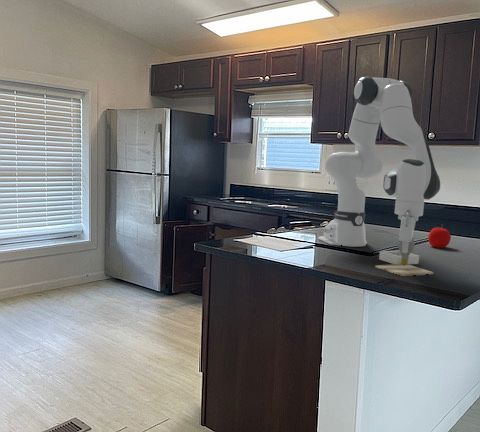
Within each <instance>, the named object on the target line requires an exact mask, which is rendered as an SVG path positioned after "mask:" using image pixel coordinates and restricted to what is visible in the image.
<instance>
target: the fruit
mask: <svg viewBox="0 0 480 432" xmlns="http://www.w3.org/2000/svg"><path fill="white" fill-rule="evenodd" d="M443 227H444V226H443V224H441V227H437V226H436V227H434V228H432V229H431V230H430V231H429V233H428V236H427V239H428V243H429V245H431V246H432V247H433V248H438V249H443V248H446V247H447V246H448V245H449V244H450V242H451V239H452V235H451V233H450V231H449V230H448V229H445V228H443Z"/></svg>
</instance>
